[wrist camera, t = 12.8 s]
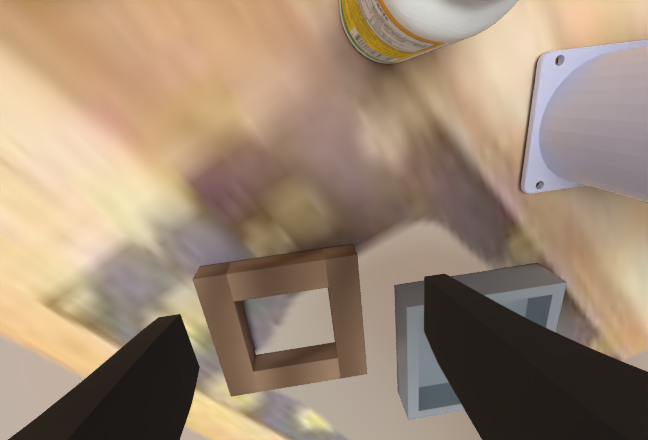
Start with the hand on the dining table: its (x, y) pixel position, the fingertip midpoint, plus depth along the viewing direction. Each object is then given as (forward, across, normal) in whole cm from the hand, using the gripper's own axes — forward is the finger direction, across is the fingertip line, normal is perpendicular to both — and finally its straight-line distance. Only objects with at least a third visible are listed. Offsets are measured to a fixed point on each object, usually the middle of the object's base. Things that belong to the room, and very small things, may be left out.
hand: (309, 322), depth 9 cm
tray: (+10, -11, +12) cm, 19 cm away
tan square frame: (+10, +2, +8) cm, 13 cm away
